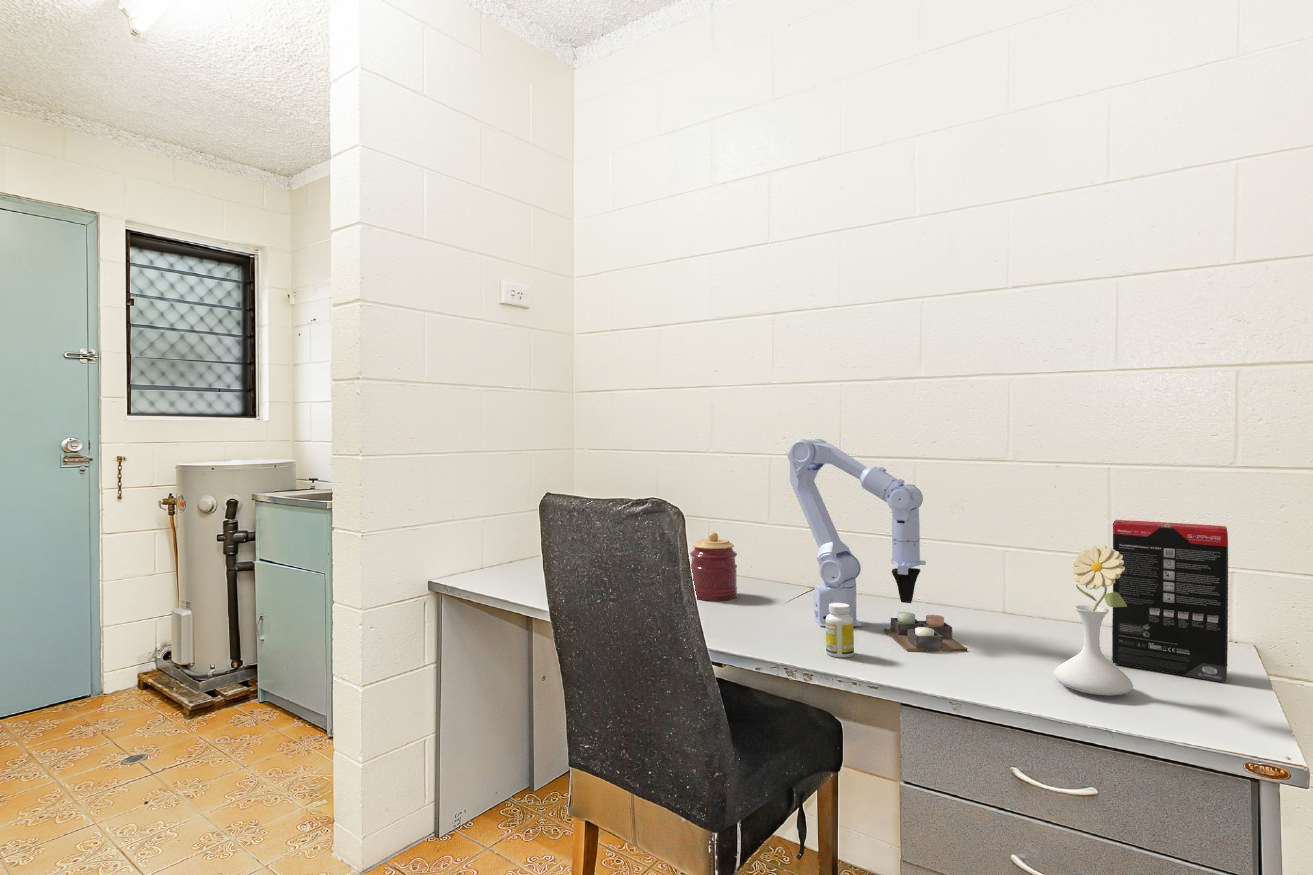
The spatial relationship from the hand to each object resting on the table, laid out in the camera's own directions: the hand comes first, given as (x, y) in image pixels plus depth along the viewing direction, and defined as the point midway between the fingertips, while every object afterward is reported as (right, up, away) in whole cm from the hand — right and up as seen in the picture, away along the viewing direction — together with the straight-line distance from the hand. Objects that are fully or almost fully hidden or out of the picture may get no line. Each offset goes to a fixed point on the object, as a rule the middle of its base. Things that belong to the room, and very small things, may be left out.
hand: (906, 602), depth 149 cm
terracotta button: (+5, -5, -3) cm, 8 cm away
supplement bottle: (-18, -7, -14) cm, 24 cm away
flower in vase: (+19, -7, -35) cm, 40 cm away
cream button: (0, -6, -10) cm, 11 cm away
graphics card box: (+39, -7, -24) cm, 47 cm away
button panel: (+2, -7, -5) cm, 9 cm away
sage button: (0, -5, 0) cm, 5 cm away
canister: (-39, -8, +39) cm, 56 cm away
